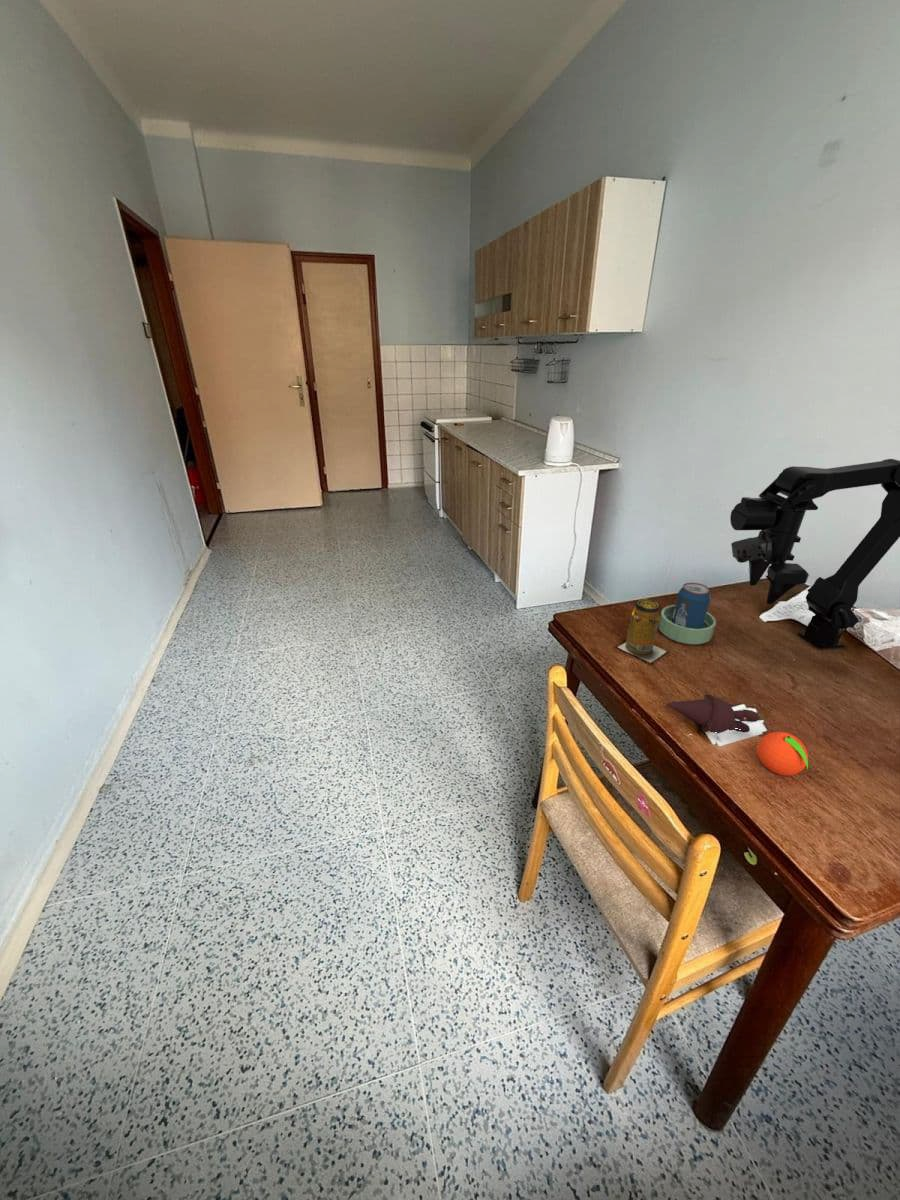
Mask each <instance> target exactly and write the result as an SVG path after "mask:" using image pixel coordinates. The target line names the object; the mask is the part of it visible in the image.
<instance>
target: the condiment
mask: <svg viewBox="0 0 900 1200" xmlns="http://www.w3.org/2000/svg"><path fill="white" fill-rule="evenodd" d="M660 610H661V606H660V604H659V603H658V602H656V601H655V600H653V599H646V598H645V599H644V598H643V599H638V600H637V601H636V602H635V605H634V608H633V611H632V612H631V615H630V619H629V625H628V629H627V635H626V641H625V642H624V643H622V644H620V645H618V646H617V648H618V649H620V650H622V651H624V652H626V653H628V654H630V655H632V656H635V657H638V658H639V659H641V660H642V661H643V660H644V661H646V662H647V663H650V664H651V663H652V662H654V661H655V660H657V659H659V658H660V657H661V656H663V655H664V654H665V653H667V650H665V649H663V648H661V647H660V646H659V647H658V646H657V645H655V642H656V638H657V637H656V635H657V631H658V629H659V627H658V624H659V620H660Z"/></svg>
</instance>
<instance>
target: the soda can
mask: <svg viewBox="0 0 900 1200" xmlns="http://www.w3.org/2000/svg"><path fill="white" fill-rule="evenodd" d="M710 589H711V588H709V586H706V585H705V584H702V583H699V582H686V583H684V584H683V585H682V587H681V588H680V589H679V590H678V594H677V598H676V603H675V605H676V606H675V610H674V614H673V618H672V622H673V623H674V624H677V625H680V626H683V627H687V628H694V629H701V628H702V627H703V624H704V620H705V616H706V613H707V612H708V609H709V605H710V603H711V602H710V601H711V598H712V597H711V596H712V595H711V592H710V591H711V590H710Z"/></svg>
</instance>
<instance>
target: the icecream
mask: <svg viewBox="0 0 900 1200" xmlns="http://www.w3.org/2000/svg"><path fill="white" fill-rule="evenodd" d="M666 706H667V707H669V708H670V709H672V710H674V711H676V712H678V713H679V714H681V715H682V716H684V717H686V718H687V719H689V720H691V721H693V722H694V723H696V724H697V725H700V726H701V731H702V732H703V733H708V732H710V733H714V734H718V733H719V734H722V733H725V732H727V731H731V732H732V731H735V732H740V733H749V732H750V730H751V728H750V726H749V724H747V723H745V722H748V723H755V722H758V721H760V718H761V717H760V716H759V714H758V713H757V712H756V711H754V710H750V709H743V710H742V709H739V710H734V709H733V708H732V706H731V705H730V704H729V703H728V702H727V701H725V700H723V699H722V698H719V697H716V696H714V695H713V694H704V698H703V699H693V700H681V701H670V702H667V703H666ZM735 728H738V729H735ZM739 729H741V730H739ZM715 732H717V733H715Z"/></svg>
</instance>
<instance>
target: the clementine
mask: <svg viewBox="0 0 900 1200" xmlns="http://www.w3.org/2000/svg"><path fill="white" fill-rule="evenodd" d="M756 747H757V748H756V750H757V752H756V753H757V756H758V758H759V761H760V762H761V764H762V765H763V766H764V767H765V768H766V769H767V770H769V771H771V772H772V773H775V774H777V775H781V776H793V775H794V776H795V775H797V774H799V773H801V772H802V771H803V770H804V769H805V768H806V769H809V763H808V760H809V754H808V750H807V748H806V746H805V744H804V743H803V741H802V740H800V739H799V738H798V737H796V736H795V735H793V734H792V733H789V732H784V731H773V732H769V733H766V734H765V735H763V736H762V737H761V738H760V740H759V741H758V744H757V746H756Z"/></svg>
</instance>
